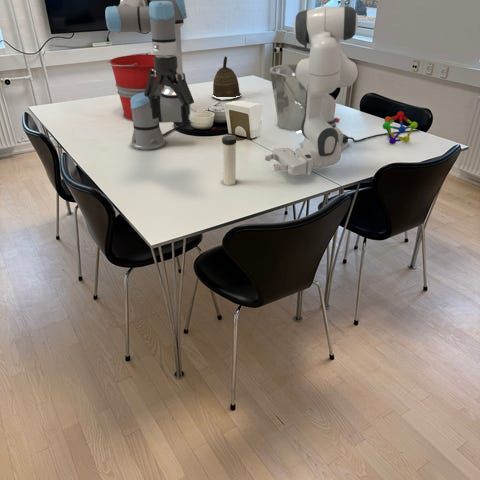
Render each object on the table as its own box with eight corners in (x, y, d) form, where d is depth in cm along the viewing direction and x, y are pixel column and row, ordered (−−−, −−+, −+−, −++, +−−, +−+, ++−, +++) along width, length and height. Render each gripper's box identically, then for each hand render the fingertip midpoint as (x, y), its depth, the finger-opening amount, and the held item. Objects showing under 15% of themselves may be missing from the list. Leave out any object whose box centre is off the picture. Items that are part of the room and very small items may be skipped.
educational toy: (377, 146, 209) (379, 114, 202) (384, 138, 219) (386, 107, 211) (411, 149, 202) (415, 116, 195) (417, 141, 212) (420, 109, 204)
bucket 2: (296, 138, 215) (301, 78, 201) (255, 124, 234) (256, 68, 219) (335, 125, 232) (342, 70, 217) (294, 113, 251) (297, 61, 236)
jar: (235, 185, 170) (235, 141, 161) (223, 185, 170) (222, 141, 160) (235, 179, 174) (235, 136, 165) (223, 180, 174) (222, 136, 164)
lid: (236, 145, 161) (236, 140, 160) (222, 145, 161) (222, 140, 160) (236, 140, 166) (236, 135, 165) (222, 140, 165) (222, 135, 164)
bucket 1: (123, 105, 263) (116, 51, 247) (182, 106, 262) (179, 52, 247) (107, 123, 234) (97, 63, 218) (173, 124, 233) (168, 64, 217)
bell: (227, 105, 294) (202, 96, 282) (238, 66, 289) (213, 55, 277) (243, 108, 280) (217, 98, 268) (255, 66, 275) (229, 55, 263)
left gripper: (129, 53, 145) (136, 117, 157) (187, 61, 134) (191, 130, 145) (145, 50, 151) (151, 112, 162) (202, 57, 139) (205, 124, 150)
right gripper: (292, 142, 183) (260, 146, 179) (314, 160, 167) (280, 164, 163) (291, 157, 186) (260, 160, 183) (312, 175, 170) (279, 180, 166)
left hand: (170, 121), depth 153 cm, fingers open, 13 cm apart
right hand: (269, 162), depth 173 cm, fingers open, 8 cm apart
